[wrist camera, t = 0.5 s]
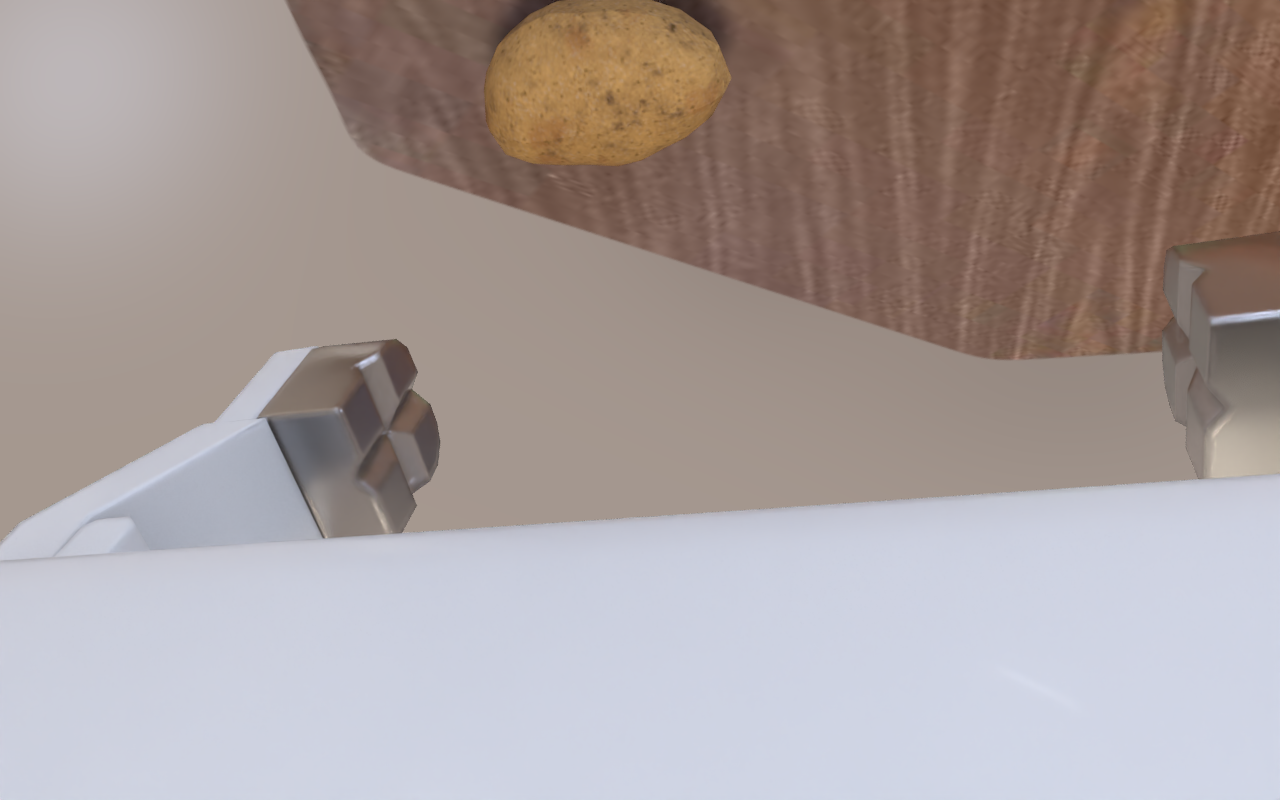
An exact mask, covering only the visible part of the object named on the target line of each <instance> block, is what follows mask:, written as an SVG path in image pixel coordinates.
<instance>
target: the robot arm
mask: <svg viewBox="0 0 1280 800" xmlns="http://www.w3.org/2000/svg"><path fill="white" fill-rule="evenodd" d="M1163 291H1164V293H1165V296H1166V298H1167V300H1168V303H1169V305H1170V307H1171V310H1172V312H1173V314H1174V317H1173V318H1172V319H1171V320H1170V322H1169V323H1168V324H1167V325H1166V326H1165V328H1164V329H1163V330H1162V354H1163V355H1162V358H1163V360H1162V361H1163V370H1164V381H1165V389H1166V393H1167V397H1168V401H1169V405H1170V408H1171V411H1172V414H1173V416H1174V419H1175V421H1176V422H1178V423H1180V424H1182V425H1184V426H1186V450H1187V452H1188V455H1189V457H1190V460H1191V462H1192V465H1193V467H1194V470H1195V472H1196V475H1197V477H1198V479H1196V480H1181V481H1167V482H1152V483H1138V484H1123V485H1110V486H1094V487H1079V488H1064V489H1050V490H1036V491H1021V492H1006V493H992V494H977V495H962V496H947V497H932V498H918V499H903V500H888V501H875V502H860V503H844V504H830V505H816V506H800V507H785V508H770V509H756V510H740V511H725V512H711V513H697V514H681V515H667V516H651V517H636V518H621V519H606V520H591V521H576V522H561V523H548V524H531V525H517V526H503V527H487V528H472V529H457V530H444V531H443V530H442V531H427V532H413V533H402V532H403V530H404V528H405V527H406V525H407V523H408V521H409V519H410V517H411V515H412V514H413V512H414V510H415V508H416V506H417V505H416V503H415V500H414V498H413V495H412V494H413V493H414V492H415V491H417V490H418V489H419V488H421V487H422V486H424V485H425V484H426V483H428V482H429V481H430V480H431V478H432V476H433V474H434V472H435V469H436V467H437V466H438V458H439V448H440V438H439V432H438V426H437V421H436V419H435V416H434V413H433V411H432V408H431V405H430V404H429V403H428V402H427V401H426V400H424V399H423V398H422V397H420V396H419V395H418V394H417V393H416V392H414V391H413V390H412V388H413V385H414V382H415V379H416V376H417V373H418V371H417V369H416V367H415V364H414V362H413V360H412V358H411V355H410V353H409V350H408V348H407V347H406V346H404V345H403V344H402V343H401V342H399V341H398V340H397V339H394V340H382V341H372V342H362V343H352V344H342V345H333V346H323V347H318V346H314V347H307V348H301V349H295V350H288V351H282V352H276V353H274V354H273V355H272V357H271V358H270V359H269V360H268V361H267V362H266V364H265V365H264V366H263V367H262V368H261V369H260V370H259V372H258V373H257V374H256V375H255V376H254V377H253V379H252V380H251V381H250V382H249V383H248V384H247V386H246V387H245V388H244V389H243V390H242V391H241V392H240V393H239V395H238V396H237V397H236V398H235V399H234V400H233V402H232V403H231V404H230V405H229V406H228V407H227V408H226V410H225V411H224V412H223V413H222V414H221V415H220V417H219V418H218V419H217V420H216V421H215V422H214V423H209V424H202V425H200V426H198V427H196V428H195V429H193V430H191V431H189V432H187V433H185V434H183V435H182V436H180V437H178V438H176V439H174V440H172V441H170V442H169V443H167V444H165V445H163V446H161V447H160V448H157V449H155V450H154V451H152V452H150V453H148V454H146V455H144V456H142V457H141V458H139V459H137V460H135V461H134V462H131V463H129V464H128V465H126V466H124V467H122V468H120V469H118V470H116V471H115V472H113V473H111V474H109V475H107V476H105V477H103V478H102V479H100V480H98V481H96V482H94V483H92V484H90V485H88V486H87V487H85V488H83V489H81V490H79V491H78V492H76V493H74V494H72V495H70V496H68V497H66V498H64V499H62V500H61V501H59V502H57V503H55V504H53V505H51V506H50V507H48V508H46V509H44V510H42V511H40V512H38V513H36V514H34V515H33V516H31V517H29V518H27V519H25V520H24V521H21V522H20V523H19V524H18V525H17V526H16V527H15V528H14V529H13V530H12V531H11V532H10V533H9V534H8V535H7V536H6V537H5V538H4V539H3V540H2V541H1V542H0V800H1280V231H1278V232H1271V233H1264V234H1257V235H1250V236H1243V237H1236V238H1228V239H1221V240H1214V241H1207V242H1200V243H1193V244H1186V245H1179V246H1172V247H1171V248H1169V249H1168V250H1166V257H1165V263H1164V280H1163Z"/></svg>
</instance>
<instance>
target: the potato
mask: <svg viewBox="0 0 1280 800" xmlns="http://www.w3.org/2000/svg"><path fill="white" fill-rule="evenodd" d="M730 79H731V76H730V73H729V70H728V68H727V65H726V63H725V60H724V58H723V55H722V52H721V50H720V47H719V45H718V43H717V41H716V40H715V38H714V36H713V34H712V32H711V31H710V30H709V29H707V28H706V27H704V26H703V25H702V24H700V23H699V22H697V21H696V20H695V19H693V18H692V17H690V16H689V15H687V14H686V13H685V12H683V11H682V10H680V9H678V8H675V7H671V6H668V5H665V4H662V3H659V2H656V1H652V0H563V1H556V2H554V3H552V4H550V5H548V6H546V7H544V8H542V9H540V10H537V11H535V12H533V13H531V14H529V15H528V16H527V17H526V18H525V19H524V20H523V21H521V22H520V23H519V24H518V25H517V26H516V27H515V28H513V29H512V30H511V31H510V32H509V33H508V34H507V35H506V36H505V38H504V39H503V40H502V41H501V42H500V43H499V44H498V46H497V49H496V51H495V53H494V56H493V58H492V60H491V63H490V65H489V68H488V70H487V72H486V79H485V87H484V95H485V112H486V122H487V125H488V127H489V130H490V132H491V133H492V135H493V136H494V138H495V139H496V141H497V142H498V144H499V145H500V146H501V148H502V149H503V151H504V152H505V154H506V155H509V156H512V157H515V158H518V159H521V160H524V161H527V162H530V163H533V164H551V165H606V166H620V165H624V164H628V163H632V162H636V161H641V160H643V159H645V158H647V157H648V156H650V155H652V154H654V153H656V152H658V151H660V150H662V149H663V148H665V147H667V146H669V145H671V144H673V143H675V142H678V141H680V140H682V139H684V138H685V137H687V136H688V135H689V134H690V133H692V132H693V131H694V130H695V129H696V128H698V127H699V126H700V125H701V124H703V123H704V122H705V121H706V120H707V119H708V118H710V117H711V116H712V115H713V113H714V111H715V109H716V107H717V105H718V103H719V102H720V100H721V98H722V96H723V94H724V92H725V90H726V88H727V86H728V84H729V82H730Z"/></svg>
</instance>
